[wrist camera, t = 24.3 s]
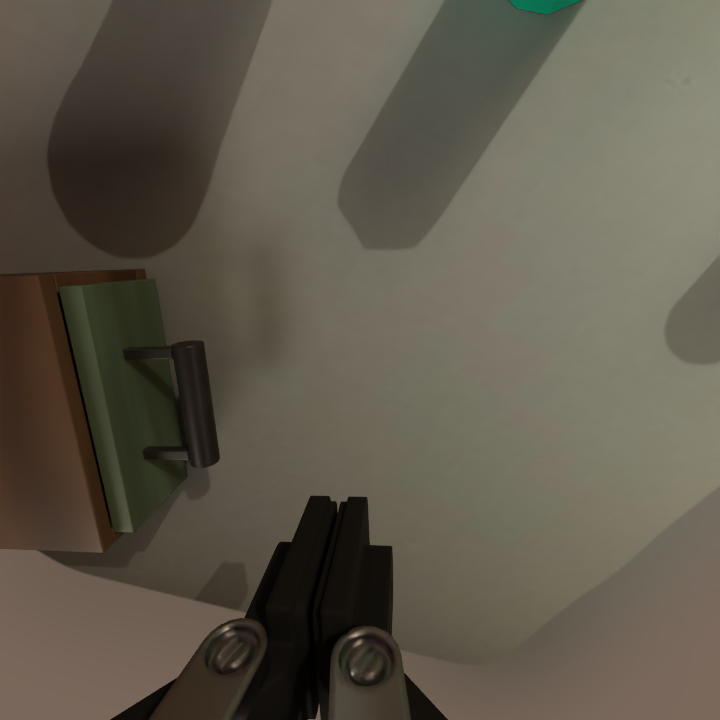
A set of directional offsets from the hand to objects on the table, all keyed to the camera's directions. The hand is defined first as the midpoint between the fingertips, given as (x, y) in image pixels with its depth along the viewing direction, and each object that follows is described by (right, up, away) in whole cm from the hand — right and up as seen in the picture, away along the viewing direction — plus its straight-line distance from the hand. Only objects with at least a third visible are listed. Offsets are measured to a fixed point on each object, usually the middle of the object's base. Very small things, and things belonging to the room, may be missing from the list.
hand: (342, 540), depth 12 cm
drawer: (-17, +4, +15) cm, 23 cm away
